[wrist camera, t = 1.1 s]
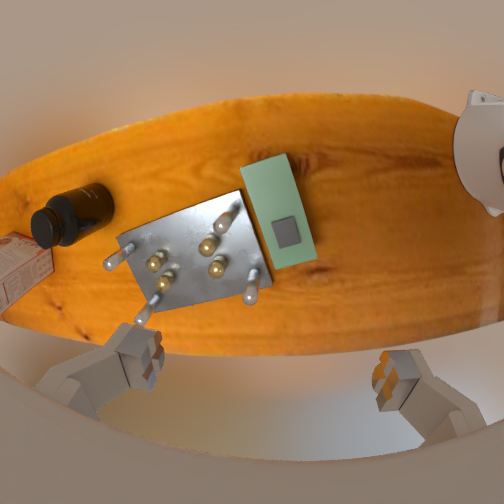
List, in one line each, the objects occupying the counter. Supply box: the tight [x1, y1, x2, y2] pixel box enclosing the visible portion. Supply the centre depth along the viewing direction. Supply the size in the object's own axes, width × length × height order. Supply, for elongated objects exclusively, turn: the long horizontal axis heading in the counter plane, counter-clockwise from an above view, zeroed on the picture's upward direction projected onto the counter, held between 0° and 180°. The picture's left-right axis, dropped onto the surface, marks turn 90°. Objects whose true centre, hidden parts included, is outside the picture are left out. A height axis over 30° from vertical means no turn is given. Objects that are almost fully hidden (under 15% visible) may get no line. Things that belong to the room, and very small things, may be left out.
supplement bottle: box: [31, 184, 113, 250], centre depth 30 cm, size 7×7×12 cm
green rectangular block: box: [239, 153, 318, 270], centre depth 31 cm, size 12×5×5 cm, turn 19°
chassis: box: [103, 189, 273, 327], centre depth 33 cm, size 19×13×7 cm
